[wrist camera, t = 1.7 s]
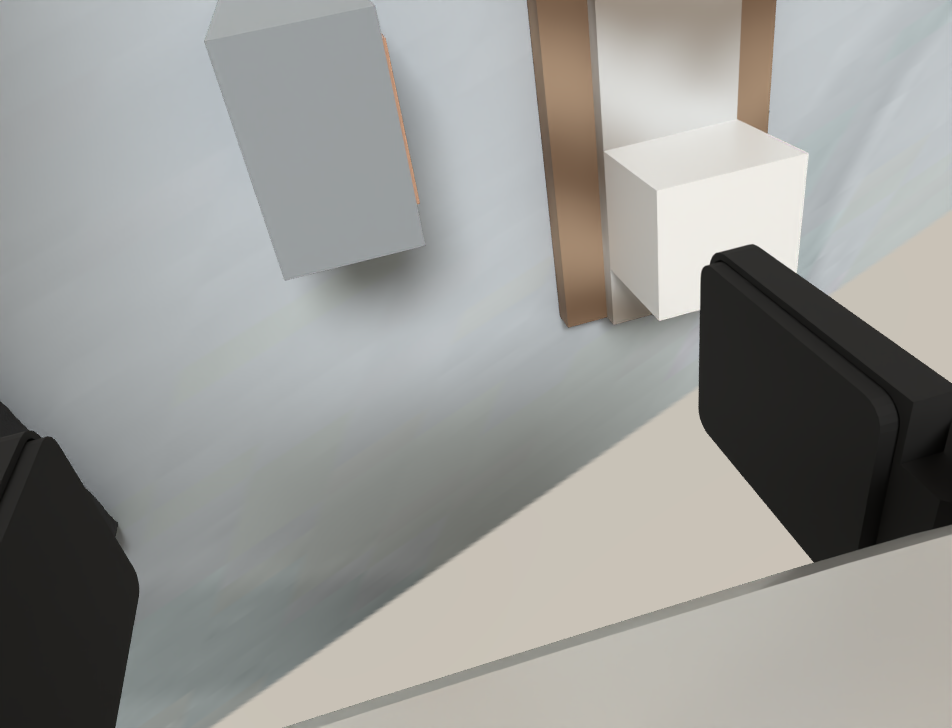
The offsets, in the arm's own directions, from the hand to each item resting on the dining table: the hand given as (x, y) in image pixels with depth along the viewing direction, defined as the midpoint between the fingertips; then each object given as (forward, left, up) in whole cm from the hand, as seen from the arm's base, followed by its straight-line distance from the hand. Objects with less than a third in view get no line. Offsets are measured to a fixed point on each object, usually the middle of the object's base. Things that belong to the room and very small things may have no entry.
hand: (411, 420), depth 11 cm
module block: (0, 0, -22) cm, 22 cm away
